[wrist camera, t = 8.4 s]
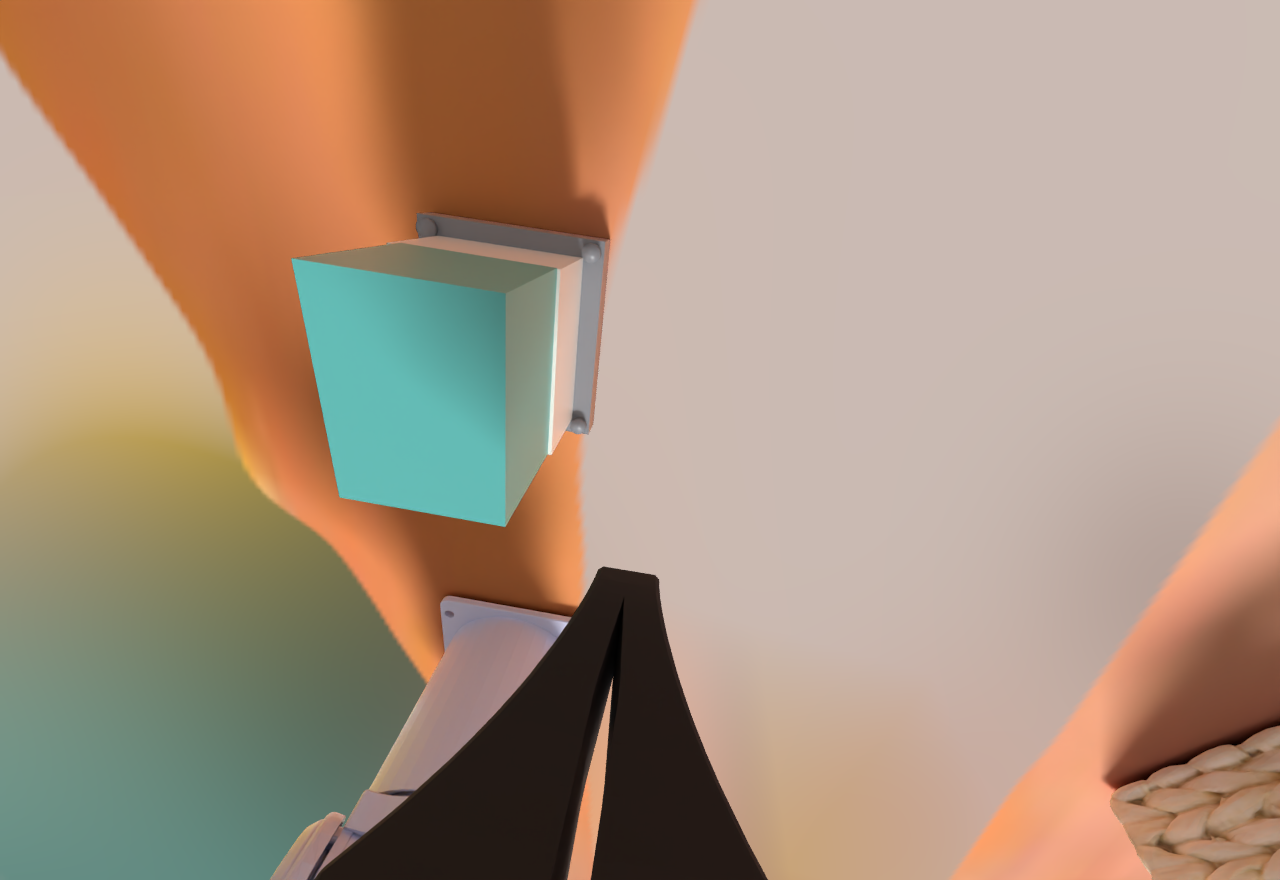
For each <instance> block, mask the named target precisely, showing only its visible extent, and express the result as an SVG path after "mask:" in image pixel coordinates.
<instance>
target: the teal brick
mask: <svg viewBox="0 0 1280 880" xmlns="http://www.w3.org/2000/svg"><path fill="white" fill-rule="evenodd" d="M291 259H292V264H293V269H294V274H295V279H296V284H297V289H298V294H299V299H300V304H301V309H302V314H303V318H304V323H305V328H306V333H307V338H308V343H309V348H310V353H311V358H312V363H313V368H314V373H315V378H316V383H317V388H318V393H319V398H320V403H321V408H322V413H323V418H324V423H325V428H326V433H327V438H328V442H329V447H330V452H331V457H332V462H333V467H334V472H335V477H336V482H337V487H338V492H339V497H340V498H346V499H352V500H357V501H363V502H369V503H374V504H380V505H385V506H391V507H397V508H402V509H408V510H413V511H419V512H425V513H430V514H436V515H441V516H447V517H453V518H458V519H464V520H469V521H475V522H481V523H486V524H492V525H497V526H503V527H506V525H507V523H508V521H509V520H510V518H511V516H512V515H513V513H514V511H515V509H516V508H517V506H518V504H519V502H520V501H521V499H522V497H523V496H524V494H525V492H526V490H527V489H528V487H529V485H530V484H531V482H532V480H533V478H534V477H535V475H536V473H537V471H538V470H539V468H540V466H541V465H542V463H543V461H544V459H545V458H546V456H547V454H548V441H549V421H550V402H551V382H552V363H553V343H554V323H555V304H556V284H557V268H554V267H548V266H542V265H536V264H529V263H523V262H517V261H511V260H505V259H498V258H492V257H486V256H480V255H474V254H467V253H461V252H455V251H449V250H443V249H436V248H430V247H424V246H418V245H412V244H405V243H395V244H388V245H381V246H374V247H367V248H360V249H353V250H346V251H339V252H332V253H325V254H318V255H311V256H304V257H297V258H291Z"/></svg>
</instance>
